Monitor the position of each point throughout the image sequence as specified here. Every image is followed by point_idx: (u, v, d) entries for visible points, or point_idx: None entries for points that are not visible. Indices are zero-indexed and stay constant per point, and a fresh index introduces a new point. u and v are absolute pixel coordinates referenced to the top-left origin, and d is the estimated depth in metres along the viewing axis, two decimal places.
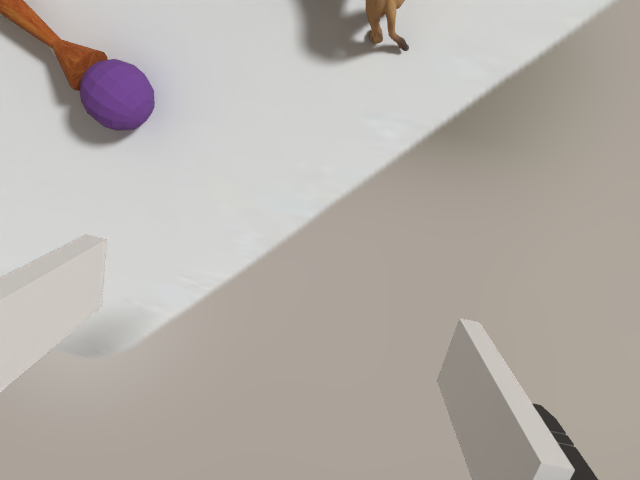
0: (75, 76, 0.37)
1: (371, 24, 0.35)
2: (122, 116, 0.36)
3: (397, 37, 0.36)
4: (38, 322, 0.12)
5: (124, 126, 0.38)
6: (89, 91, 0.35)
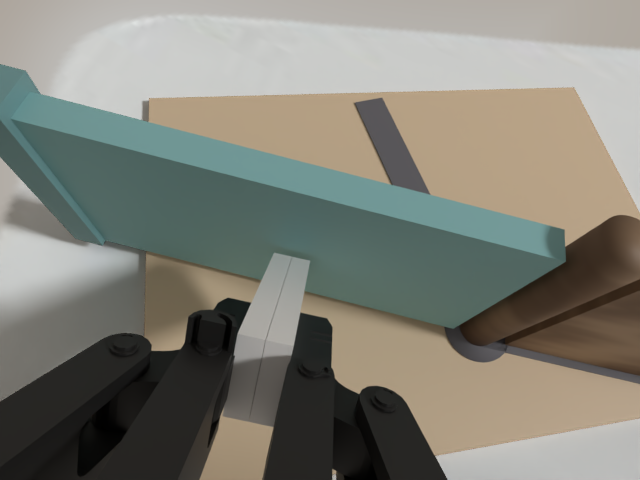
0: None
1: None
2: None
3: None
4: None
5: None
6: None
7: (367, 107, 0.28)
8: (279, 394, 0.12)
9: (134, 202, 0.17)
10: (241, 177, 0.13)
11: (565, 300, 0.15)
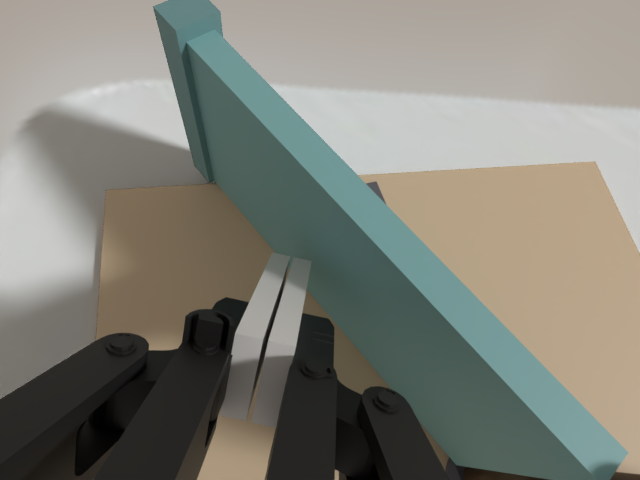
0: None
1: None
2: None
3: None
4: (270, 329, 0.14)
5: None
6: None
7: None
8: (281, 394, 0.12)
9: (241, 161, 0.18)
10: (324, 188, 0.13)
11: None
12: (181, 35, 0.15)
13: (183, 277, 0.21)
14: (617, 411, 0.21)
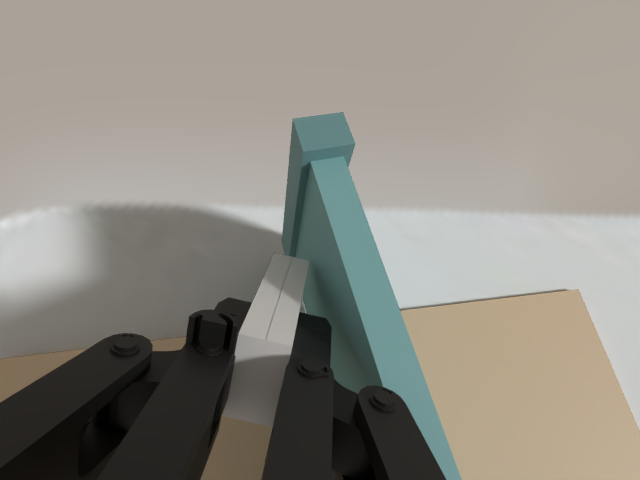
0: None
1: None
2: None
3: None
4: None
5: None
6: None
7: None
8: (278, 394, 0.12)
9: (320, 280, 0.17)
10: (384, 385, 0.11)
11: None
12: (307, 155, 0.14)
13: None
14: None
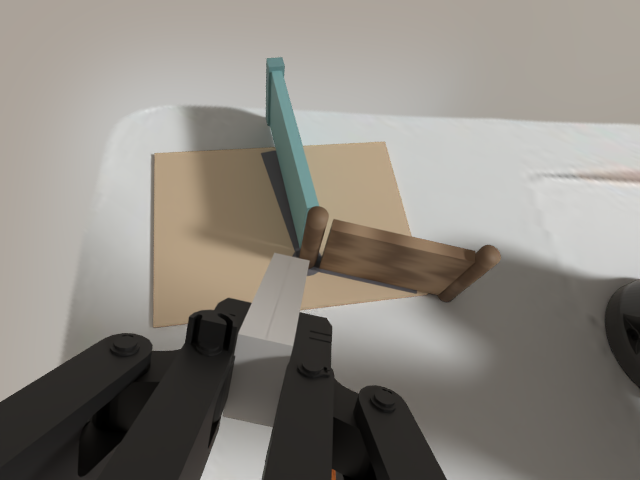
0: None
1: None
2: None
3: None
4: None
5: None
6: None
7: (267, 155, 0.54)
8: (278, 394, 0.12)
9: (275, 114, 0.50)
10: (285, 122, 0.45)
11: (310, 238, 0.41)
12: (270, 69, 0.48)
13: (188, 187, 0.51)
14: None
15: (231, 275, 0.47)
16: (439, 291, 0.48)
